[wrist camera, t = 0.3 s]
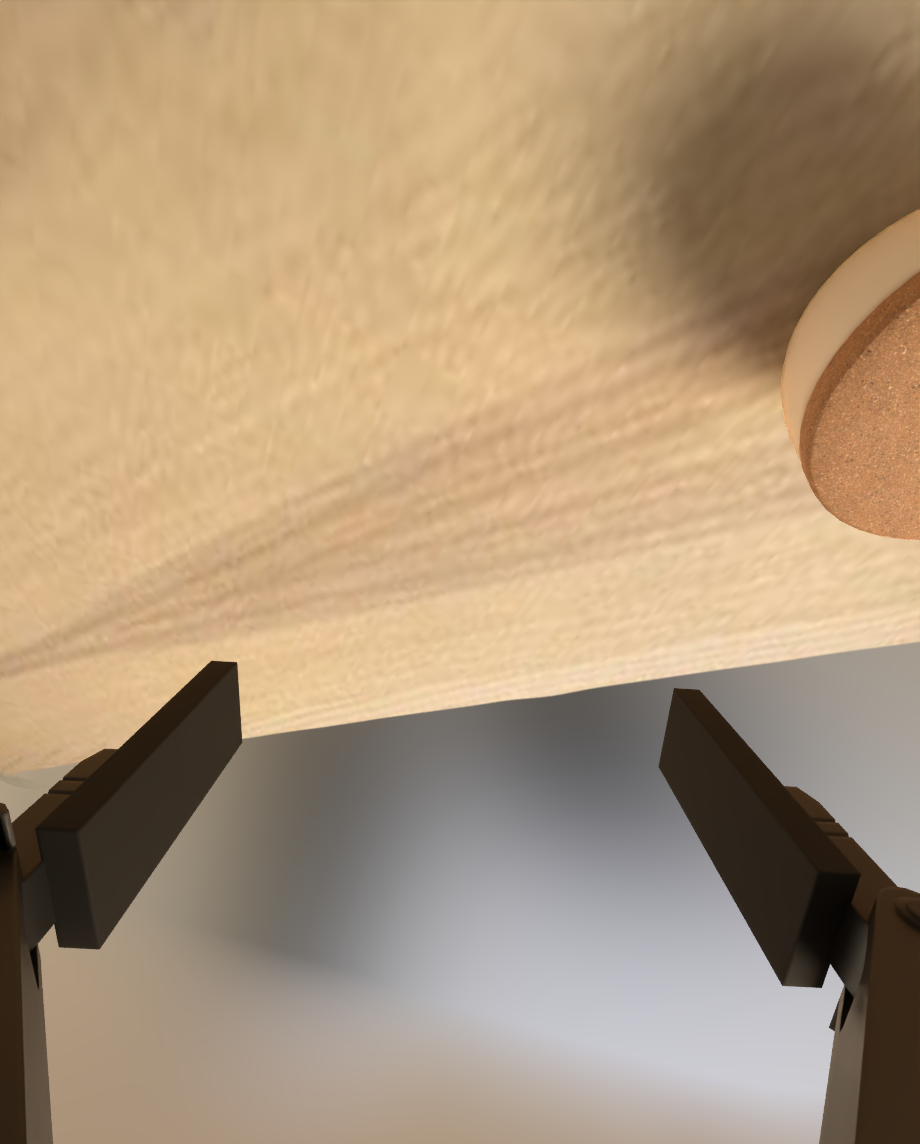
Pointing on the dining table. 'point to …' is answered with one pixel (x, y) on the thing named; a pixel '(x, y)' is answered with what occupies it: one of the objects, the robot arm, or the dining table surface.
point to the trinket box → (862, 386)
